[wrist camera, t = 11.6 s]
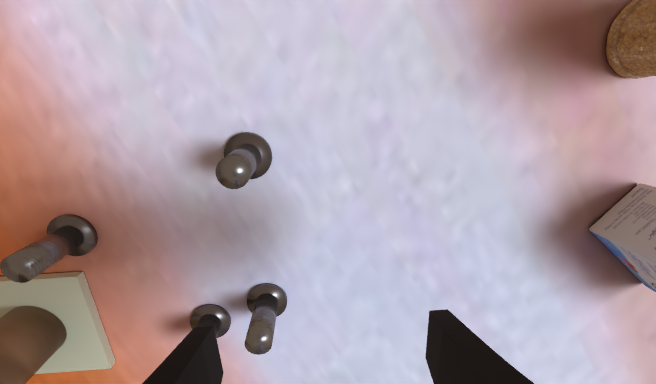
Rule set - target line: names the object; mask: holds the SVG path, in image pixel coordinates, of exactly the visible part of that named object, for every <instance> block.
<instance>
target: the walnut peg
mask: <svg viewBox="0 0 656 384" xmlns="http://www.w3.org/2000/svg"><path fill="white" fill-rule="evenodd" d="M66 336H67V333H66V329H65V326H64V324H63V323H62V321H61V320H60V319H59V318H58V317H57V316H55V315H54V314H53V313H51V312H49V311H47V310H45V309H42V308H39V307H34V306H20V307H17V308H14V309H12V310H10V311H9V312H8V313H6V314H5V315H4V316H2V317H1V318H0V384H25V383H26V382H27V381H28V380H29V379H30V378H31V377H32V376H33V375H34V374H35V373H36V372H37V371H38V370H39V369H40V368H41V367H42V365H43V364H44V363H45V362H46V361H47V360H48V359H49V358H50V357H51V356H52V355H53V354H54V353H55V352H56V351H57V350H58V349H59V348H60V347H61V346H62V345H63V344H64V342H65V340H66Z"/></svg>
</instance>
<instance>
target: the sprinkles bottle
mask: <svg viewBox="0 0 656 384" xmlns="http://www.w3.org/2000/svg"><path fill="white" fill-rule="evenodd" d="M606 45H607V47H606V53H607V60H608V62H609V65H610V66H611V67H613V69H614V71H616V73H617V74H619V75H621V76H623V77H625V78H643V77H648V76H656V0H633V1H631V2H630V3H629V4H628V5H626V6H625V7H624V9H623V10H622V11H621V12H620V14H619V15H618V16H617V17H616V19H615V20H614V22H613V23H612V25H611V28H610V31H609V33H608V36H607V44H606Z"/></svg>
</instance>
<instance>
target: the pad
mask: <svg viewBox="0 0 656 384" xmlns="http://www.w3.org/2000/svg"><path fill="white" fill-rule="evenodd" d="M20 306H34V307H39V308H42V309H45V310H47V311H49V312H51V313H53V314H54V315H55V316H57V317H58V318H59V319H60V320H61V321H62V323H63V324H64V326H65V329H66V333H67V336H66V340H65V342H64V344H63V345H62V346H61V347H60V348H59V349H58V350H57V351H56V352H55V353H54V354H53V355H52V356H51V357H50V358H49V359H48V360H47V361H46V362H45V363H44V364H43V365H42V367H41V368H40V369H39V370H38V371H37V372H36V373H35V374H43V373H57V372H70V371H84V370H98V369H111V367H112V366H113V365H114V363H115V362H116V361H115V358H114V356H113V353H112V350H111V347H110V344H109V342H108V339H107V336H106V333H105V330H104V328H103V325H102V322H101V319H100V316H99V314H98V311H97V308H96V305H95V302H94V300H93V297H92V294H91V291H90V288H89V286H88V283H87V280H86V277H85V275H84V272H83V271H82V272H66V273H50V274H39V275H38V276H36V277H35V278H33V279H32V280H30V281H29V282H26V283H18V282H14V281H12V280H10V279H8V278H7V277H6V276H2V277H0V318H1V317H2V316H4V315H5V314H6V313H8V312H9V311H10V310H12V309H14V308H17V307H20Z"/></svg>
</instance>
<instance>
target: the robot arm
mask: <svg viewBox="0 0 656 384" xmlns="http://www.w3.org/2000/svg"><path fill="white" fill-rule="evenodd" d="M426 360H427V363H428V367H429V370H430V373H431V376H432V379H433V382H434V384H534V383H533V382H531V381H530V380H529V379H528V378H526V377H525V376H524V375H522V374H521V373H520V372H519V371H517V370H516V369H515V368H514V367H513V366H511V365H510V364H509V363H508V362H506V361H505V360H504V359H503V358H502V357H500V356H499V355H498V354H497V353H496V352H495V351H493V350H492V349H491V348H490V347H489V346H488V345H486V344H485V343H484V342H483V341H482V340H481V339H480V338H479V337H477V336H476V335H475V334H474V333H473V332H472V331H471V330H470V329H469V328H467V327H466V326H465V325H464V324H463V323H462V322H461V321H460V320H459V319H457V318H456V317H455V316H454V315H453V314H452V313H451V312H450V311H449V310H434V311H429V323H428V335H427V347H426ZM222 377H223V369H222V364H221V359H220V354H219V349H218V344H217V340H216V335H215V330H214V326H204V327H195V328H194V329H193V330H192V331H191V332H190V333H189V334H188V335H187V336H186V337H185V338H184V339H183V340H182V342H181V343H180V344H179V345H178V346H177V347H176V348H175V349H174V350H173V351H172V352H171V354H170V355H169V356H168V357H167V358H166V359H165V360H164V361H163V362H162V363H161V364H160V366H159V367H158V368H157V369H156V370H155V371H154V372H153V373H152V374H151V375H150V376H149V377H148V378H147V379H146V380H145V381H144V382H143V384H221V382H222Z"/></svg>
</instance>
